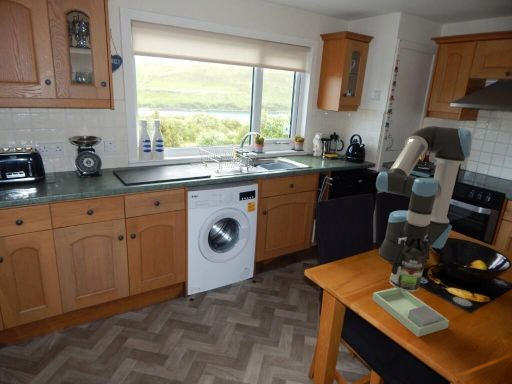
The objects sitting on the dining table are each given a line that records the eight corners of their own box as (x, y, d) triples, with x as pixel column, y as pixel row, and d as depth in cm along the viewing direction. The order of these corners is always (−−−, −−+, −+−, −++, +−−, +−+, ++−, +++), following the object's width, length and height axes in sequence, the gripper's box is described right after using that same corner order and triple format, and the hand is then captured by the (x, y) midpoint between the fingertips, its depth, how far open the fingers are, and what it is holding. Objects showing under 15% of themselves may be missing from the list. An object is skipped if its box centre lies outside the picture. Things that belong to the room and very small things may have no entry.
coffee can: (422, 294, 119) (431, 258, 115) (391, 289, 121) (399, 253, 117) (415, 279, 129) (423, 245, 125) (387, 275, 131) (393, 241, 127)
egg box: (423, 316, 123) (426, 305, 121) (437, 326, 117) (440, 315, 116) (407, 320, 120) (409, 310, 118) (420, 331, 114) (423, 320, 113)
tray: (399, 294, 137) (400, 286, 136) (447, 329, 117) (449, 320, 116) (371, 300, 131) (373, 292, 130) (417, 338, 112) (419, 329, 111)
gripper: (431, 216, 125) (419, 269, 132) (384, 221, 117) (374, 278, 123) (449, 223, 119) (435, 279, 125) (401, 229, 110) (389, 289, 116)
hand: (405, 278), depth 124 cm, fingers closed on coffee can, 10 cm apart
